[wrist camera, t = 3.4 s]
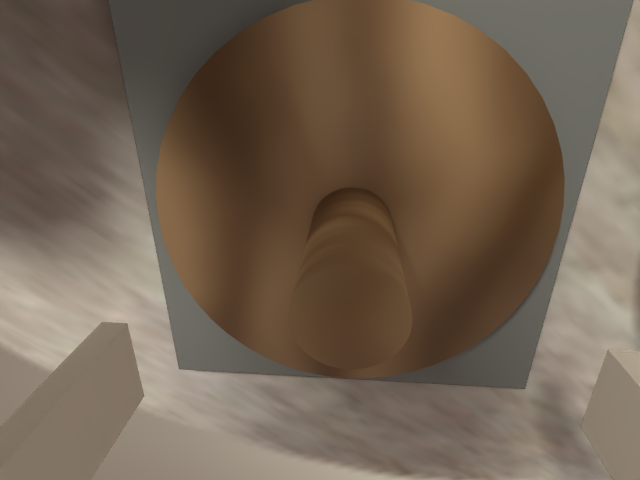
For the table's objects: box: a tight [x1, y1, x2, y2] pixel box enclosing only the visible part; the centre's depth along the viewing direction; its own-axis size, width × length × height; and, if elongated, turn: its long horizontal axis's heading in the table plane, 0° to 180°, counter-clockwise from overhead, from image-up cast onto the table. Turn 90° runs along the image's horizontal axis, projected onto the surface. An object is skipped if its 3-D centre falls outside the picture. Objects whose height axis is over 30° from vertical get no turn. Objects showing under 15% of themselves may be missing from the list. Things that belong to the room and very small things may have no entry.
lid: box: [156, 0, 565, 378], centre depth 17 cm, size 20×20×9 cm
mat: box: [108, 0, 633, 389], centre depth 22 cm, size 22×22×1 cm
